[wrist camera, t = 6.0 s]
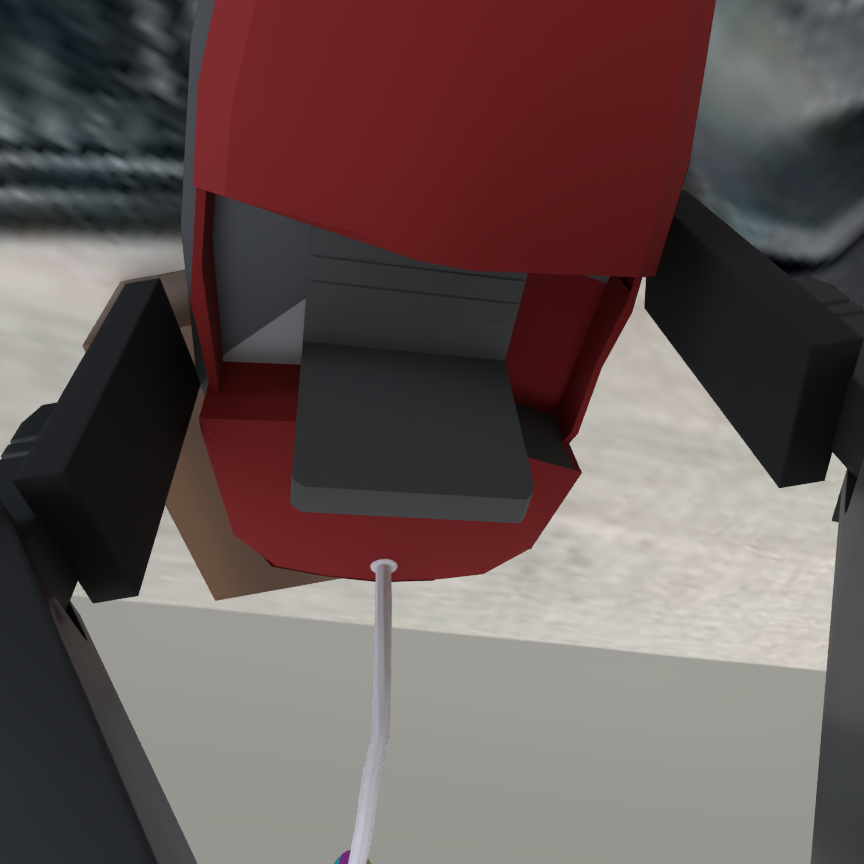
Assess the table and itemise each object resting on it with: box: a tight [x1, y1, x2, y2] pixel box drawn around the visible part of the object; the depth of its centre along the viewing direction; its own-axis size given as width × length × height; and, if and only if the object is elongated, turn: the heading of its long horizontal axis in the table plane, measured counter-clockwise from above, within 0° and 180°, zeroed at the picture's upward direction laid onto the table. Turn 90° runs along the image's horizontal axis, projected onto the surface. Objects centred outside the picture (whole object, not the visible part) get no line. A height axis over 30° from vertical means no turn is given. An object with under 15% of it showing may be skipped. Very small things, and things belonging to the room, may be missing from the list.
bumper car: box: [181, 0, 716, 864], centre depth 13 cm, size 10×20×10 cm, turn 170°
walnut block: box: [83, 270, 340, 601], centre depth 35 cm, size 8×16×6 cm, turn 9°
